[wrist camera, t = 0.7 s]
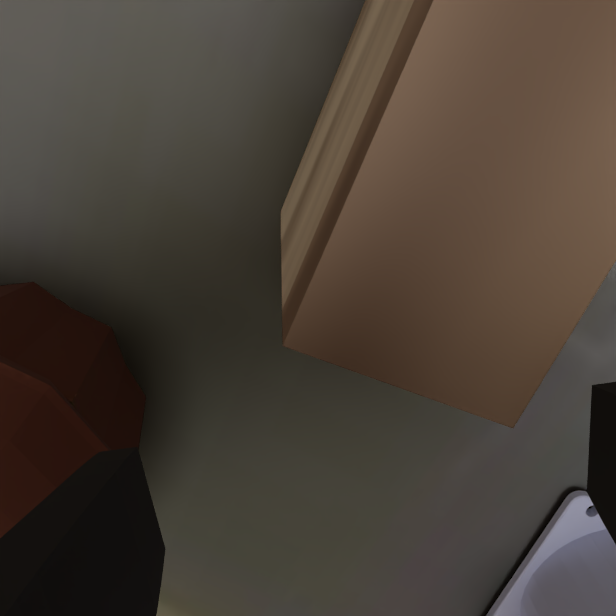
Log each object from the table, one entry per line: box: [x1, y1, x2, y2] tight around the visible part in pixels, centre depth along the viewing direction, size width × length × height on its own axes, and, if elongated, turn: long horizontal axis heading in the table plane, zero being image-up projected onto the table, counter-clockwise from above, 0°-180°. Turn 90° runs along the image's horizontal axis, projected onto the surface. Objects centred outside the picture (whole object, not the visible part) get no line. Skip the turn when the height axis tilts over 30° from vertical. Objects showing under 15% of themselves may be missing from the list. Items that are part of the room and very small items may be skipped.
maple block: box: [281, 0, 616, 428], centre depth 13 cm, size 4×7×10 cm, turn 157°
